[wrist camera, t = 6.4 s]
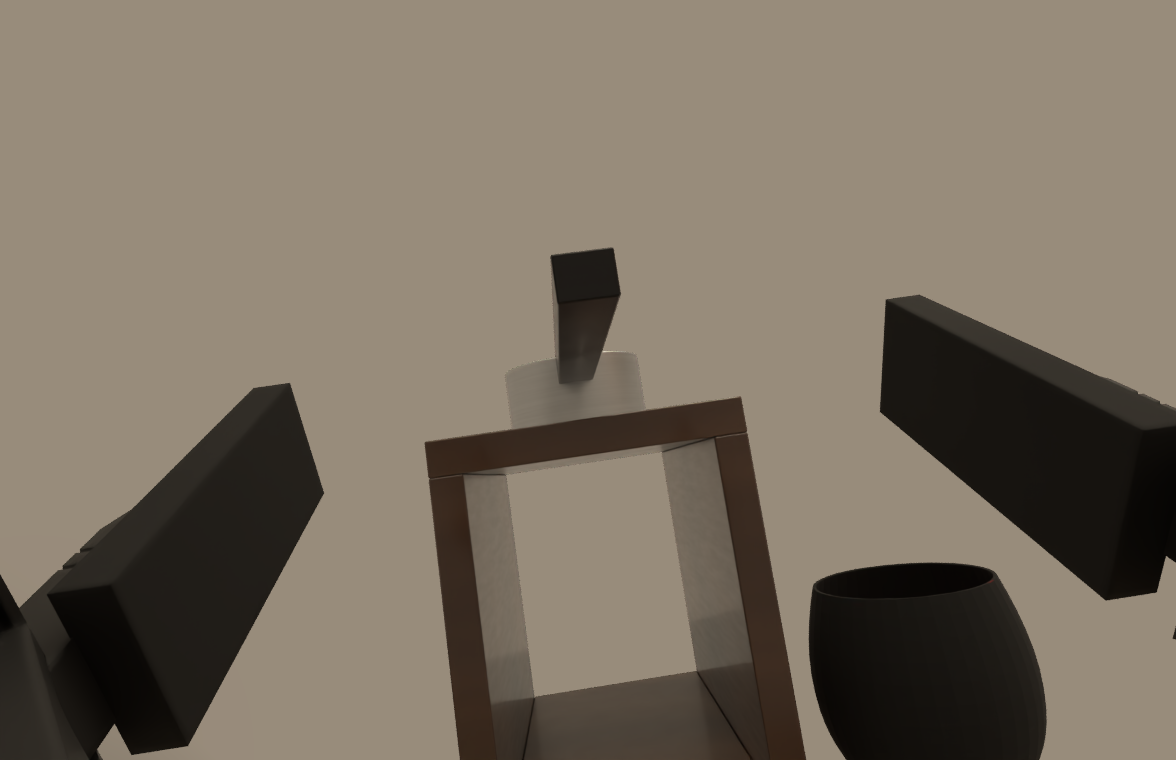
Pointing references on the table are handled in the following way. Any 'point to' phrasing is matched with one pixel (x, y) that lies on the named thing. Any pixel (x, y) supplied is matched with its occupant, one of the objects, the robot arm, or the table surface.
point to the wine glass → (925, 665)
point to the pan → (578, 350)
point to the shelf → (710, 580)
